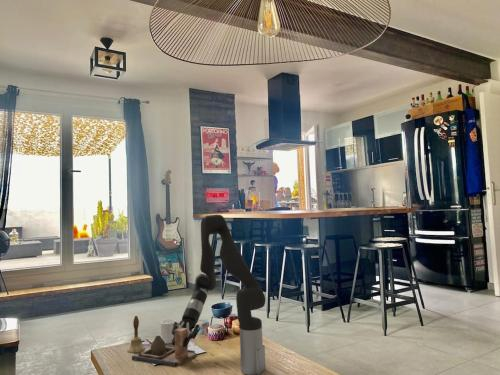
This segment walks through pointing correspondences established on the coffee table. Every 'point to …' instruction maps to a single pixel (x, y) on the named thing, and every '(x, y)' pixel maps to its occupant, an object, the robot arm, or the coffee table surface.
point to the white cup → (167, 330)
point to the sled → (174, 350)
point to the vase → (158, 346)
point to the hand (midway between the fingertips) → (178, 345)
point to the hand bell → (136, 339)
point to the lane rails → (156, 360)
